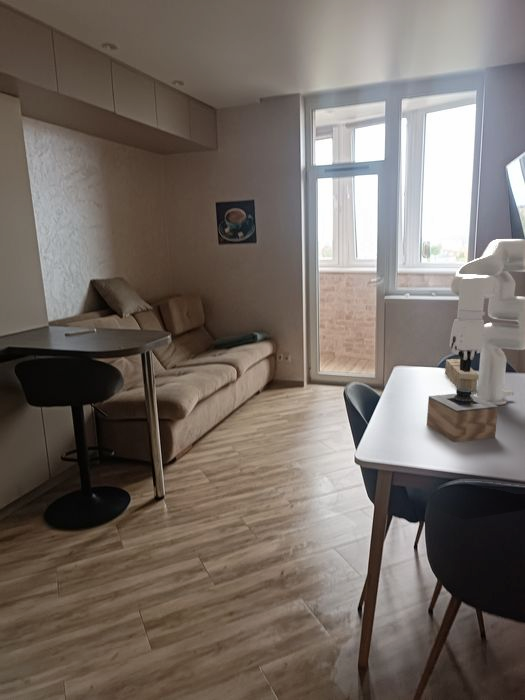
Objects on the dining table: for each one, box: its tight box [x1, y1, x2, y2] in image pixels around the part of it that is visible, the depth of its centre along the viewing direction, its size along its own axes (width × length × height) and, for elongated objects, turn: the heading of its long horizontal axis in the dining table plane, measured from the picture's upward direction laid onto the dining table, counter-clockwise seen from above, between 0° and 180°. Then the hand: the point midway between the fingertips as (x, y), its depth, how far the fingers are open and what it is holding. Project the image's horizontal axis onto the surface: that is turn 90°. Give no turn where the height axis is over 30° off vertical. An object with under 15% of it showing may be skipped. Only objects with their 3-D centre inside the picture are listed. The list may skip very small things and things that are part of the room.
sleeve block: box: [426, 393, 499, 443], centre depth 163 cm, size 15×15×11 cm
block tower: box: [444, 358, 479, 391], centre depth 222 cm, size 8×8×29 cm
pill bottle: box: [453, 388, 473, 405], centre depth 163 cm, size 6×6×11 cm
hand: (464, 370), depth 160 cm, fingers closed
